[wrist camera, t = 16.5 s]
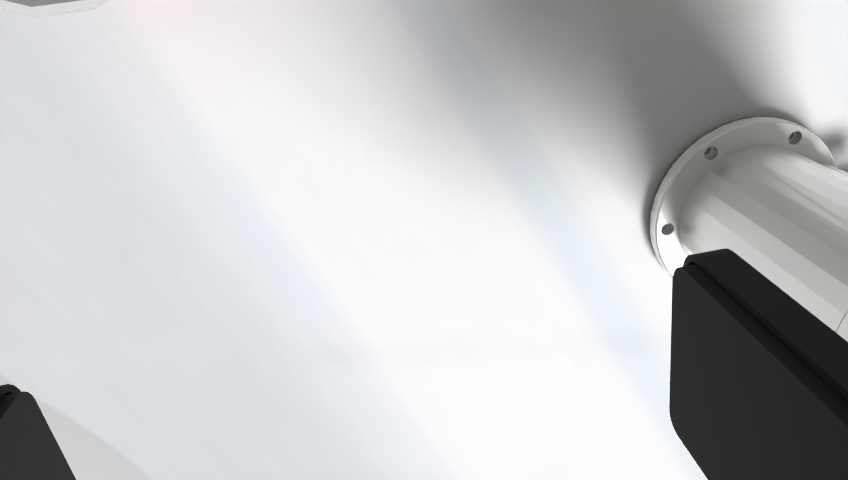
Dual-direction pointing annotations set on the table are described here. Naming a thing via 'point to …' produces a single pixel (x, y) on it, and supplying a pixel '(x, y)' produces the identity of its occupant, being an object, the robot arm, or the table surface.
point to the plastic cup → (48, 6)
